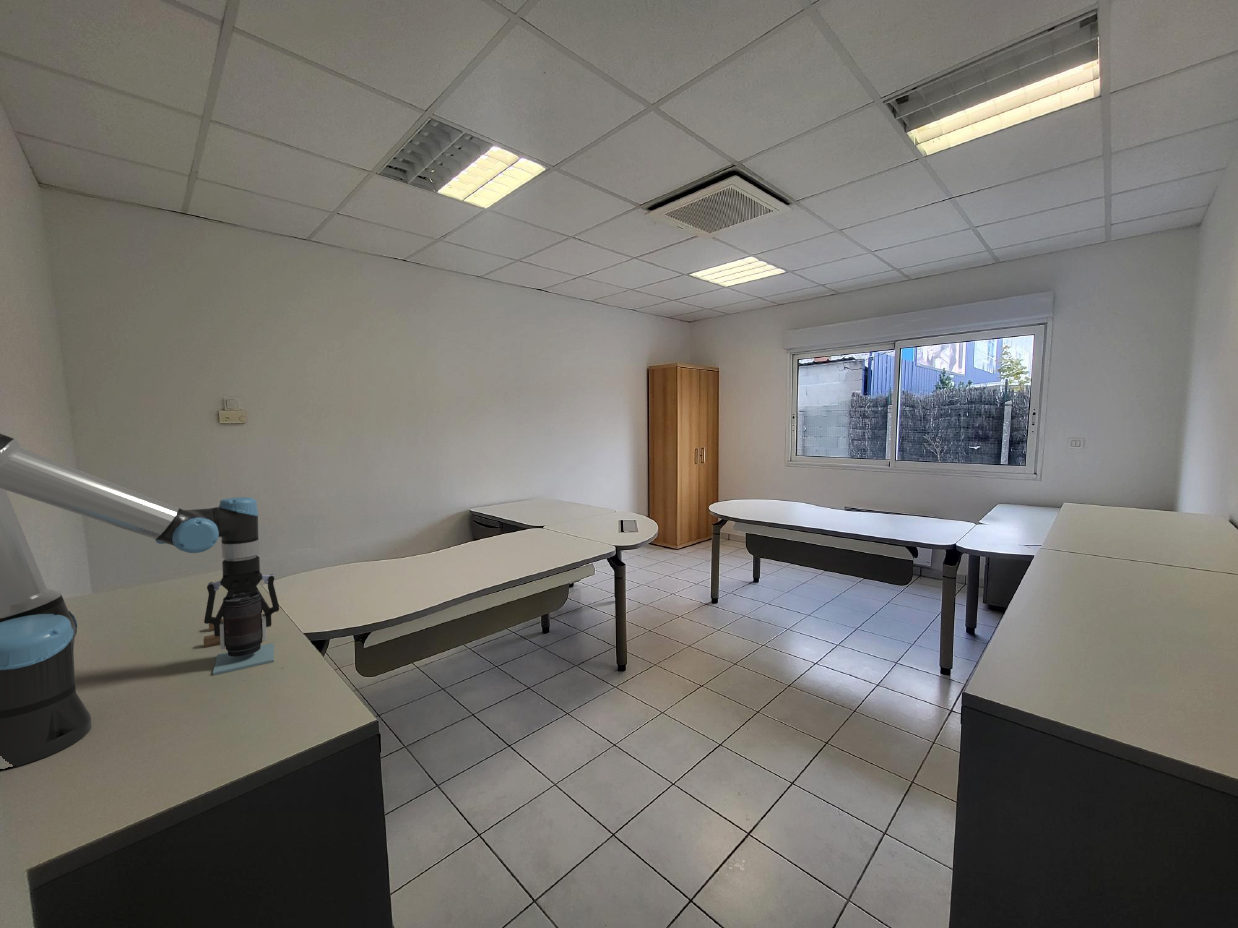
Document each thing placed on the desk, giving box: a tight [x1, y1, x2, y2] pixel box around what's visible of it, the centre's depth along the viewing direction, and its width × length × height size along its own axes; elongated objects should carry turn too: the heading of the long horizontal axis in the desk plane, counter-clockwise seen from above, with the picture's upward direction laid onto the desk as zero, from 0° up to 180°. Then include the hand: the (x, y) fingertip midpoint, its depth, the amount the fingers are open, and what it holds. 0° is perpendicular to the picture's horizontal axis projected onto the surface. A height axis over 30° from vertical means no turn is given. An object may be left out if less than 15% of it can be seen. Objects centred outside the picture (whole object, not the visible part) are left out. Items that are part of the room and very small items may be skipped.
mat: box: [212, 642, 275, 676], centre depth 124 cm, size 12×12×1 cm
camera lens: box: [221, 591, 263, 657], centre depth 123 cm, size 8×8×15 cm
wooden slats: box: [203, 618, 224, 649], centre depth 139 cm, size 15×11×4 cm
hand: (244, 642), depth 123 cm, fingers closed on camera lens, 8 cm apart
